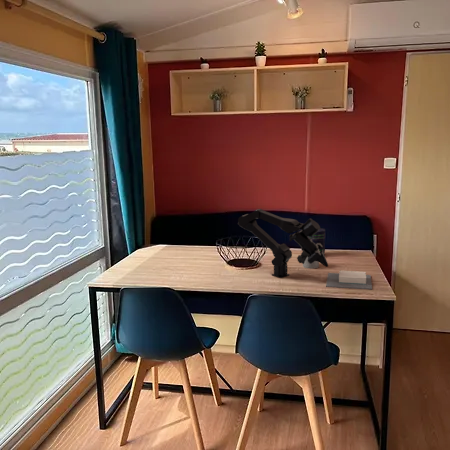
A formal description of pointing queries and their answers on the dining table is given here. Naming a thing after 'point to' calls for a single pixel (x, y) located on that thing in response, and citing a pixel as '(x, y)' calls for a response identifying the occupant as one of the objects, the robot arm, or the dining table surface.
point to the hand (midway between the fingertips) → (327, 266)
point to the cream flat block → (352, 277)
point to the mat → (334, 282)
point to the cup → (311, 266)
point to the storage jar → (319, 238)
